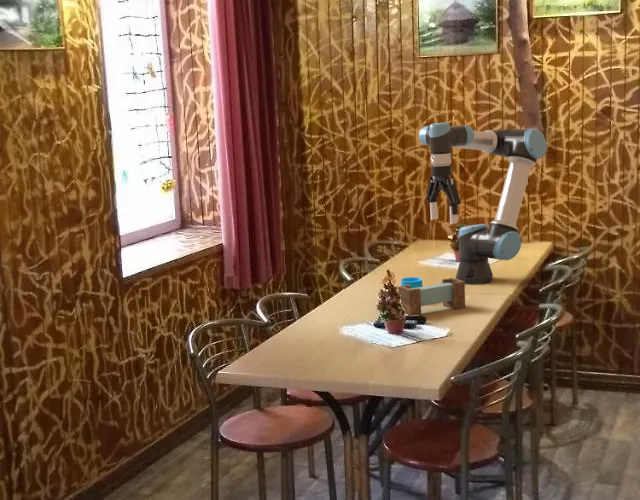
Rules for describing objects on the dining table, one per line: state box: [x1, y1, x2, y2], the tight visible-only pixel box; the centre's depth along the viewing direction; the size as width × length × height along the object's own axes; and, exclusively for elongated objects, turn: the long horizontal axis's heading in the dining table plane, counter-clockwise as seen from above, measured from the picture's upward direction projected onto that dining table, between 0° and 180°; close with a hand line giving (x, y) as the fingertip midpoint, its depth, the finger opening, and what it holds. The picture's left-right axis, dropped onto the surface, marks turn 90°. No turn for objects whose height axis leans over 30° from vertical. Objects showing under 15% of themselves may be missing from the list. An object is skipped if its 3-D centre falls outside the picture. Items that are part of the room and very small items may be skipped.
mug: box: [400, 276, 424, 288], centre depth 359 cm, size 12×8×8 cm
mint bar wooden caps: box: [397, 277, 466, 316], centre depth 340 cm, size 23×8×10 cm, turn 114°
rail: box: [411, 282, 453, 307], centre depth 339 cm, size 18×4×6 cm, turn 114°
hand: (443, 221), depth 352 cm, fingers open, 13 cm apart
